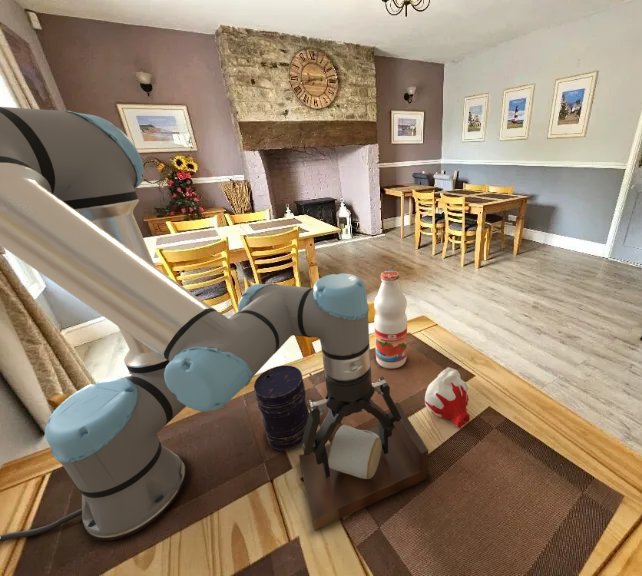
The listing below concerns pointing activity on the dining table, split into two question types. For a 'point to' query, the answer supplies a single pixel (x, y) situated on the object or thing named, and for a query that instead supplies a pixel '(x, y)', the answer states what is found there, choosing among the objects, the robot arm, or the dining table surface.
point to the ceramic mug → (355, 452)
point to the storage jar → (282, 406)
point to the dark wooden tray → (356, 493)
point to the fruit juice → (390, 322)
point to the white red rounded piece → (448, 397)
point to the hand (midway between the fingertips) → (356, 459)
